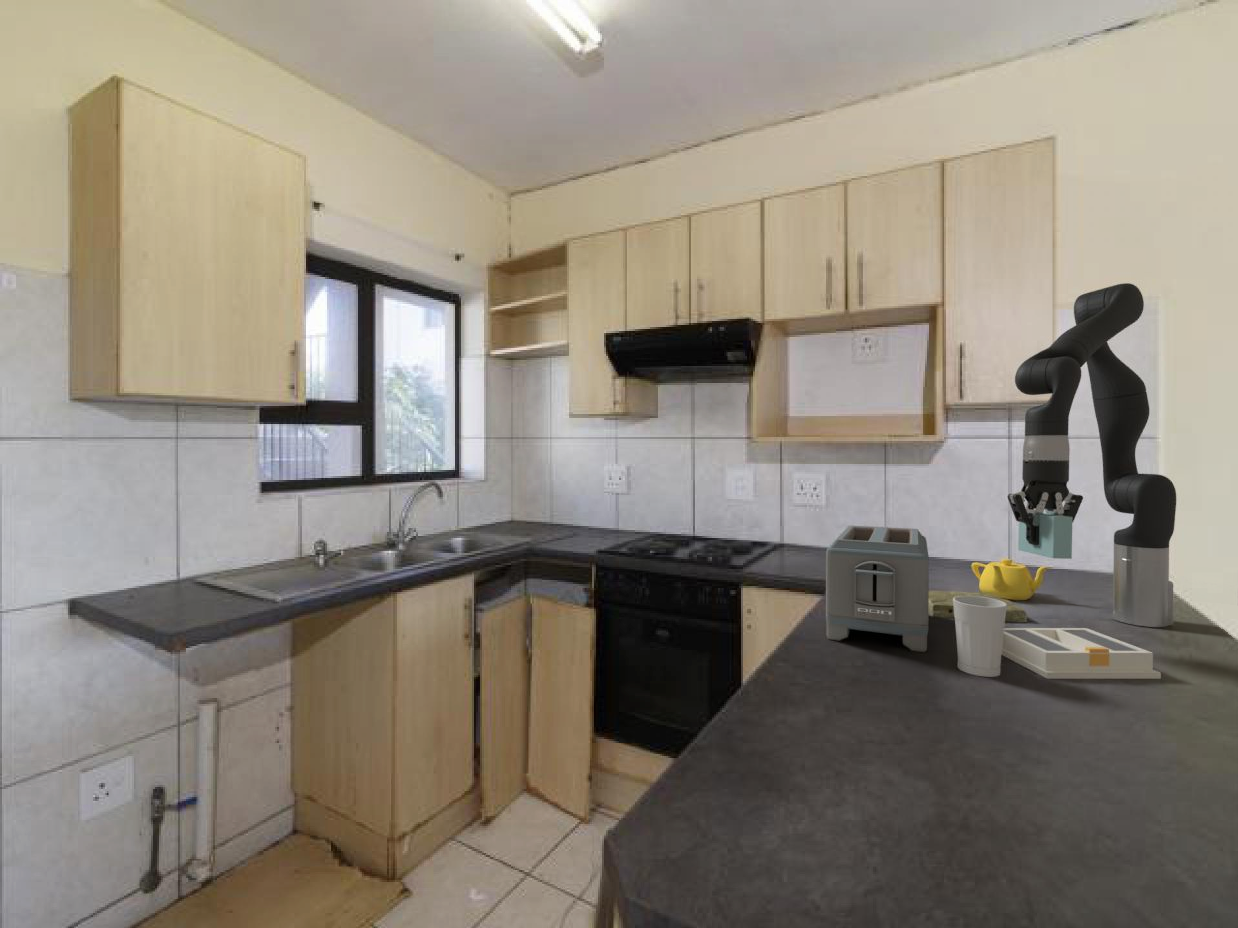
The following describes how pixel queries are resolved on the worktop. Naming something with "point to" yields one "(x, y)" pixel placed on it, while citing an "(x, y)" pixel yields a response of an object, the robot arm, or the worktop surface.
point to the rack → (1076, 654)
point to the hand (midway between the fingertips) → (1043, 544)
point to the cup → (979, 634)
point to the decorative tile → (944, 600)
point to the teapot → (1008, 579)
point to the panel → (1049, 537)
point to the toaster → (878, 584)
